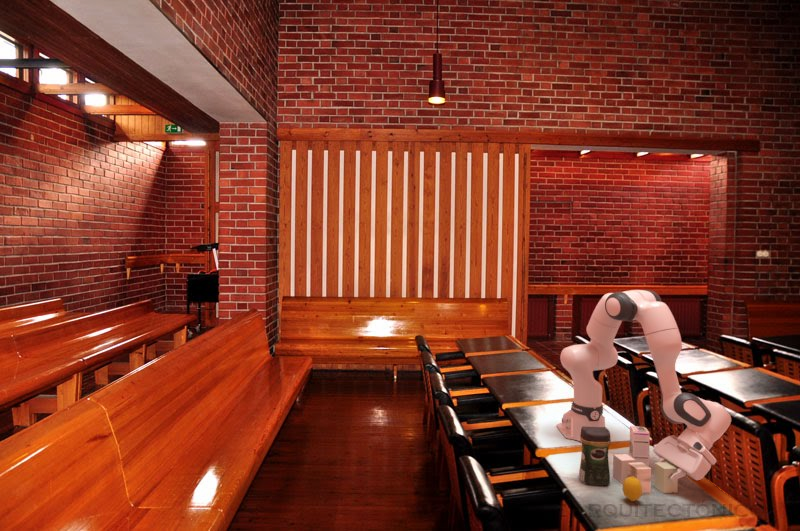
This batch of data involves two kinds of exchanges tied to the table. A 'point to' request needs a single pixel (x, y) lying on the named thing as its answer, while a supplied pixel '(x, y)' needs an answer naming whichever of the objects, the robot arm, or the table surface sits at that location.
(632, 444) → the syrup box
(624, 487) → the lemon
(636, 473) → the pink tall block
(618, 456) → the pink rectangular block
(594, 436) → the coffee jar
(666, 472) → the beige rectangular block
